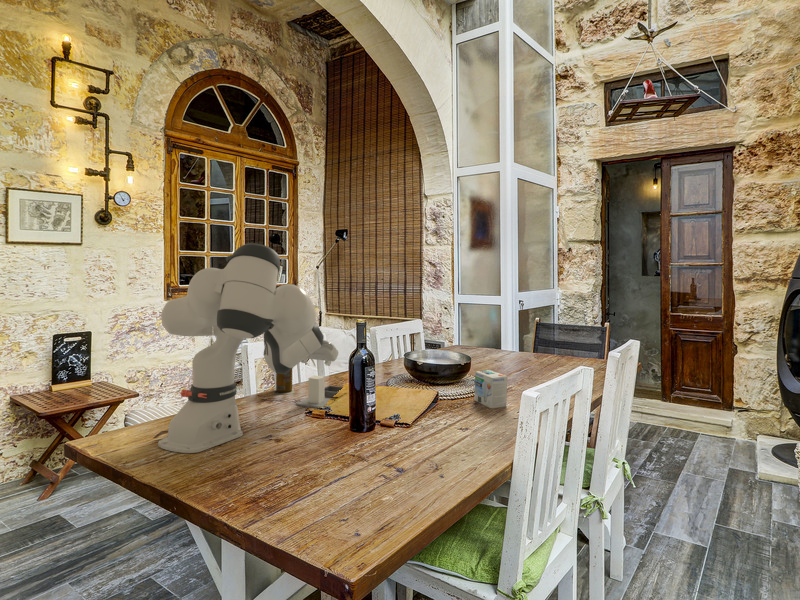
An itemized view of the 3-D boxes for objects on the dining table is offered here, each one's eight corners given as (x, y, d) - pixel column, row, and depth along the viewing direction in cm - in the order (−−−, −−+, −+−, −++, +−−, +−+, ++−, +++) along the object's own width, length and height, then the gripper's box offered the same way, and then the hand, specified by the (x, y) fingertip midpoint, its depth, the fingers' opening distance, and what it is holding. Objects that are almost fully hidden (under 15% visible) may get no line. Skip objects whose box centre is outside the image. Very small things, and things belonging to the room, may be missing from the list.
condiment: (293, 388, 185) (293, 357, 184) (293, 394, 177) (293, 362, 176) (274, 389, 183) (274, 358, 182) (273, 395, 175) (273, 362, 174)
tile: (321, 408, 160) (321, 407, 159) (296, 405, 163) (296, 403, 163) (336, 400, 169) (336, 399, 169) (311, 397, 172) (311, 396, 172)
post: (318, 403, 163) (318, 379, 163) (308, 402, 165) (308, 378, 164) (324, 400, 167) (324, 376, 166) (314, 399, 168) (314, 375, 168)
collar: (337, 398, 172) (337, 392, 172) (319, 395, 175) (319, 390, 175) (347, 392, 179) (347, 387, 179) (329, 390, 182) (329, 385, 182)
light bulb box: (473, 400, 172) (474, 371, 171) (489, 398, 175) (489, 369, 174) (491, 408, 162) (492, 377, 161) (507, 406, 165) (508, 376, 164)
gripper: (333, 333, 154) (346, 357, 164) (279, 329, 161) (295, 352, 171) (326, 349, 150) (340, 373, 160) (271, 344, 157) (288, 367, 167)
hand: (316, 362), depth 166 cm, fingers open, 8 cm apart
